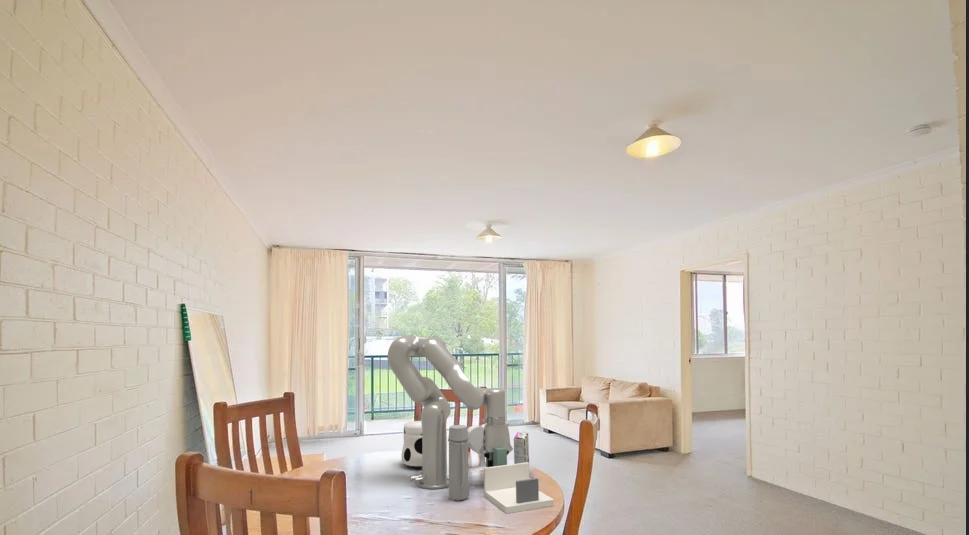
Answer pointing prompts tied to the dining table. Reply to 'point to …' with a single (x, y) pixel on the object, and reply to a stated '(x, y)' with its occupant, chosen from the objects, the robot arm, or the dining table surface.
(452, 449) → the water bottle
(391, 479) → the dining table surface
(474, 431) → the heart sculpture
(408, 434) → the milk container
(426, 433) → the robot arm
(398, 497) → the dining table surface
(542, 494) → the shelf
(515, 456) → the candy bar box
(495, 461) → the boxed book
